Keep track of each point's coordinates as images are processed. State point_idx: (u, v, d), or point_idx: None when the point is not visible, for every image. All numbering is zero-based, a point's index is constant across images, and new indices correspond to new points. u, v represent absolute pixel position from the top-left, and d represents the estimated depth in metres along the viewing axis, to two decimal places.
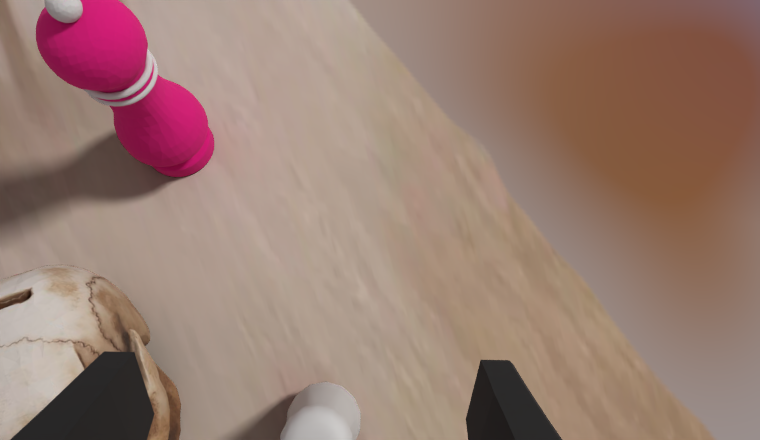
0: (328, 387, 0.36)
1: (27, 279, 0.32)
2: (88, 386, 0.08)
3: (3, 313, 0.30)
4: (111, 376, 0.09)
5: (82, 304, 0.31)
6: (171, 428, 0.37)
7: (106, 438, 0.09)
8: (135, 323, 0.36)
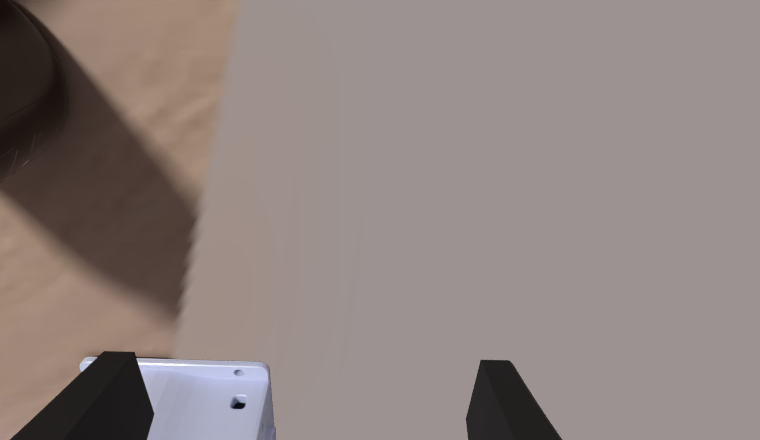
0: None
1: None
2: (88, 386, 0.08)
3: None
4: (111, 376, 0.09)
5: None
6: None
7: (106, 438, 0.09)
8: None
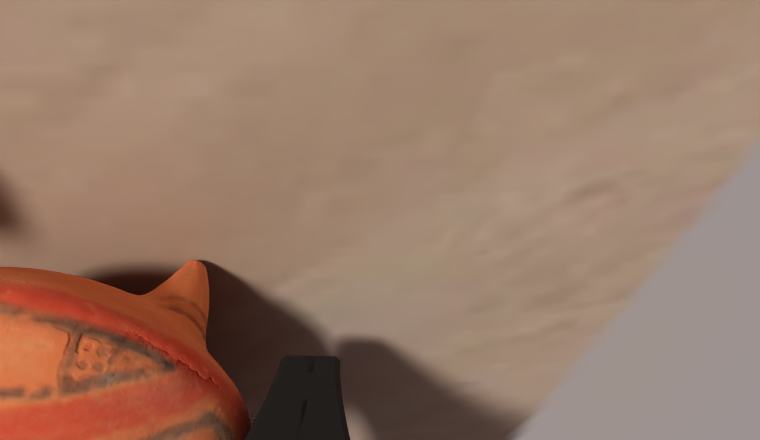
0: None
1: None
2: (292, 390, 0.09)
3: None
4: (309, 380, 0.09)
5: None
6: None
7: None
8: None
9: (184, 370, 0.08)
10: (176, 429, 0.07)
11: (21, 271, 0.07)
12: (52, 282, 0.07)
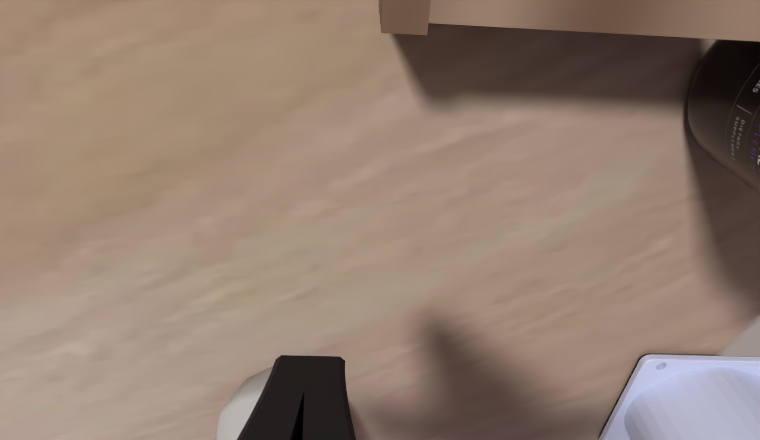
0: None
1: None
2: (286, 390, 0.09)
3: None
4: (303, 380, 0.09)
5: None
6: None
7: None
8: None
9: None
10: None
11: None
12: None
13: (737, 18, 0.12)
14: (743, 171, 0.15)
